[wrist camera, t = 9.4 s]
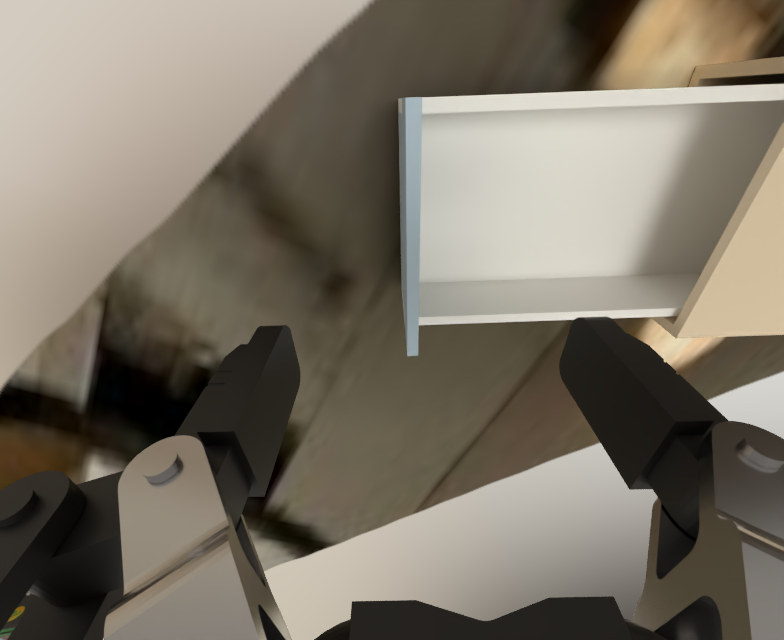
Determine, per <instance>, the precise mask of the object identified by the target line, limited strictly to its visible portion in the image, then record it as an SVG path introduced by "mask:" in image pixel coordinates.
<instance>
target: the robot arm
mask: <svg viewBox="0 0 784 640" xmlns="http://www.w3.org/2000/svg"><path fill="white" fill-rule="evenodd" d="M559 368H560V375H561V378H562V380H563V382H564V384H565V386H566V387H567V389H568V390H569V392H570V394H571V395H572V397H573V399H574V400H575V402H576V403H577V405H578V407H579V408H580V410H581V411H582V413H583V415H584V416H585V418H586V420H587V421H588V423H589V424H590V426H591V428H592V429H593V431H594V433H595V434H596V436H597V437H598V439H599V441H600V442H601V444H602V445H603V447H604V449H605V450H606V452H607V453H608V455H609V457H610V458H611V460H612V462H613V463H614V465H615V467H616V468H617V470H618V471H619V473H620V475H621V476H622V478H623V479H624V481H625V482H626V484H627V486H628V488H629V489H653V490H654V492H655V493H656V495H657V496H658V498H657V499H656V501H655V502H654V504H653V509H652V519H651V529H650V541H649V550H648V561H647V571H646V580H645V585H644V589H643V592H642V595H641V597H640V599H639V601H638V603H637V606H636V608H635V611H634V615H633V619H632V622H631V621H629V620H626V619H624V618H623V616H622V614H621V612H620V610H619V607H618V605H617V603H616V601H615V599H614V597H565V598H547V599H545V600H542V601H540V602H537V603H535V604H532V605H530V606H527V607H524V608H522V609H519V610H517V611H514V612H512V613H509V614H507V615H504V616H502V617H500V618H497V619H495V620H491V621H480V620H477V619H474V618H470V617H467V616H464V615H461V614H458V613H454V612H451V611H448V610H445V609H442V608H438V607H435V606H432V605H429V604H426V603H423V602H419V601H416V600H409V601H356V602H352V609H351V619H350V620H348V621H345V622H342V623H340V624H338V625H336V626H334V627H333V628H331V629H329V630H327V631H325V632H324V633H323V634H321V635H320V636H319V637H317V638H316V639H314V640H784V439H782V438H780V437H779V436H777V435H775V434H773V433H771V432H769V431H767V430H764V429H762V428H759V427H756V426H753V425H750V424H746V423H741V422H735V421H728V420H727V419H726V418H725V417H724V416H723V415H722V414H721V413H720V412H719V411H717V409H715V408H714V407H713V406H712V405H711V404H710V403H709V402H708V401H707V400H706V399H705V398H704V397H703V396H702V395H701V394H700V393H699V392H697V391H696V390H695V389H694V388H693V387H692V386H691V385H690V384H689V383H688V382H687V381H686V380H685V379H684V378H683V377H682V376H681V375H677V374H676V371H675V370H674V369H673V368H672V367H671V366H670V365H669V364H668V363H667V362H665V363H664V359H663V358H661V357H660V356H659V355H658V354H657V353H656V352H655V351H654V350H653V349H652V348H651V347H650V346H649V345H647V344H645V343H643V342H642V341H640V340H638V339H637V338H635V337H633V336H631V335H630V334H626V333H625V332H624V331H623V330H622V329H621V328H620V327H619V326H618V325H617V324H616V323H615V322H614V321H613V320H612V319H611V318H609V317H578V318H576V319H575V320H574V321H573V323H572V325H571V328H570V331H569V334H568V337H567V340H566V343H565V346H564V349H563V352H562V356H561V359H560V364H559ZM299 384H300V367H299V363H298V359H297V355H296V351H295V347H294V343H293V339H292V335H291V331H290V329H289V327H288V326H287V325H282V326H260V327H258V328H257V330H256V331H255V333H254V335H253V336H252V338H251V340H250V342H249V343H248V344H241V345H239V346H238V347H237V348H236V349H234V350H233V351H232V352H231V353H229V354H228V355H227V356H226V357H225V358H224V360H223V361H222V363H221V364H220V366H219V367H218V369H217V371H216V374H214V375H213V377H212V378H211V380H210V381H209V383H208V387H206V388H205V389H204V391H203V392H202V394H201V395H200V397H199V399H198V400H197V402H196V403H195V405H194V406H193V408H192V409H191V411H190V413H189V414H188V416H187V417H186V419H185V420H184V422H183V423H182V425H181V427H180V428H179V430H178V431H177V433H176V434H175V436H174V437H170V438H166V439H164V440H161V441H159V442H157V443H155V444H153V445H151V446H150V447H148V448H146V449H145V450H144V451H142V452H141V453H140V454H138V455H137V456H136V457H135V458H134V459H133V460H132V461H131V462H130V463H129V465H128V466H127V467H126V469H125V470H124V471H121V472H118V473H115V474H111V475H108V476H105V477H101V478H98V479H94V480H91V481H88V482H84V483H81V484H78V485H76V484H75V483H74V482H72V481H71V480H70V479H69V478H68V477H67V476H66V475H65V474H64V473H62V472H59V471H45V472H40V473H36V474H33V475H30V476H28V477H25V478H23V479H21V480H18V481H16V482H14V483H13V484H11V485H9V486H7V487H6V488H4V489H2V490H1V491H0V631H1V630H2V628H3V627H4V626H5V624H6V623H7V621H8V620H9V618H10V617H11V615H12V614H13V613H14V611H15V610H16V608H17V607H18V605H19V604H20V602H21V601H22V599H23V598H24V597H25V595H26V594H27V592H28V591H29V592H31V593H33V594H34V595H36V597H35V598H34V600H33V601H32V603H31V604H30V606H29V607H28V609H27V610H26V612H25V613H24V615H23V616H22V618H21V619H20V621H19V622H18V624H17V625H16V627H15V628H14V630H13V631H12V633H11V634H10V636H9V637H8V639H7V640H103V638H104V640H292V639H291V637H290V634H289V631H288V629H287V626H286V624H285V622H284V619H283V617H282V614H281V612H280V610H279V608H278V606H277V604H276V602H275V599H274V597H273V595H272V592H271V590H270V587H269V585H268V582H267V579H266V577H265V574H264V571H263V569H262V566H261V563H260V560H259V558H258V555H257V552H256V550H255V547H254V544H253V542H252V539H251V536H250V534H249V531H248V528H247V525H246V523H245V520H244V517H243V515H242V511H243V508H244V505H245V502H246V500H247V497H257V496H265V493H266V490H267V487H268V484H269V480H270V477H271V474H272V471H273V468H274V465H275V461H276V458H277V455H278V452H279V449H280V446H281V442H282V439H283V436H284V433H285V430H286V427H287V424H288V420H289V417H290V414H291V411H292V408H293V405H294V401H295V398H296V395H297V392H298V389H299Z"/></svg>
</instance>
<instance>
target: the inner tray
mask: <svg viewBox="0 0 784 640" xmlns="http://www.w3.org/2000/svg"><path fill="white" fill-rule="evenodd" d="M398 112H399V169H400V226H401V283H402V299H403V310H404V322H405V334H406V345H407V356H418V331H419V325H437V324H465V323H494V322H522V321H550V320H575V319H576V318H578V317H609V318H636V317H664V316H679V314H680V312H681V310H682V308H683V307H684V305H685V303H686V301H687V299H688V297H689V295H690V294H691V292H692V290H693V288H694V286H695V284H696V282H697V281H698V279H699V277H700V275H701V273H702V271H703V269H704V268H705V266H706V264H707V262H708V260H709V258H710V256H711V255H712V253H713V251H714V249H715V247H716V245H717V244H718V242H719V240H720V238H721V236H722V234H723V232H724V231H725V229H726V227H727V225H728V223H729V221H730V219H731V218H732V216H733V214H734V212H735V210H736V208H737V206H738V205H739V203H740V201H741V199H742V197H743V195H744V193H745V192H746V190H747V188H748V186H749V184H750V182H751V180H752V179H753V177H754V175H755V173H756V171H757V169H758V167H759V166H760V164H761V162H762V160H763V158H764V156H765V154H766V153H767V151H768V149H769V147H770V145H771V143H772V141H773V140H774V138H775V136H776V134H777V132H778V130H779V129H780V127H781V125H782V123H783V121H784V84H762V85H736V86H710V87H683V88H657V89H631V90H605V91H579V92H552V93H526V94H500V95H474V96H448V97H408V98H401V99H398Z"/></svg>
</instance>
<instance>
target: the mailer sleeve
mask: <svg viewBox="0 0 784 640" xmlns="http://www.w3.org/2000/svg"><path fill="white" fill-rule="evenodd" d="M762 84H784V57H775V58H766V59H757V60H748V61H739V62H731V63H722V64H713V65H704V66H696V68H695V71H694V73H693V76H692V78H691V81H690V84H689V86H688V87H710V86H736V85H762ZM651 318H652V319H653V320H654V321H656V322H657V323H658V324H659V325H661V326H662V327H663V328H664V329H665V330H667V331H668V332H669V333H670V334H672V335H673V336H674V337H675V338H700V337H729V336H757V335H784V121H783V123H782V125H781V127H780V129H779V130H778V132H777V134H776V136H775V138H774V140H773V141H772V143H771V145H770V147H769V149H768V151H767V153H766V154H765V156H764V158H763V160H762V162H761V164H760V166H759V167H758V169H757V171H756V173H755V175H754V177H753V179H752V180H751V182H750V184H749V186H748V188H747V190H746V192H745V193H744V195H743V197H742V199H741V201H740V203H739V205H738V206H737V208H736V210H735V212H734V214H733V216H732V218H731V219H730V221H729V223H728V225H727V227H726V229H725V231H724V232H723V234H722V236H721V238H720V240H719V242H718V244H717V245H716V247H715V249H714V251H713V253H712V255H711V256H710V258H709V260H708V262H707V264H706V266H705V268H704V269H703V271H702V273H701V275H700V277H699V279H698V281H697V282H696V284H695V286H694V288H693V290H692V292H691V294H690V295H689V297H688V299H687V301H686V303H685V305H684V307H683V308H682V310H681V312H680V314H679V316H664V317H651Z"/></svg>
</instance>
